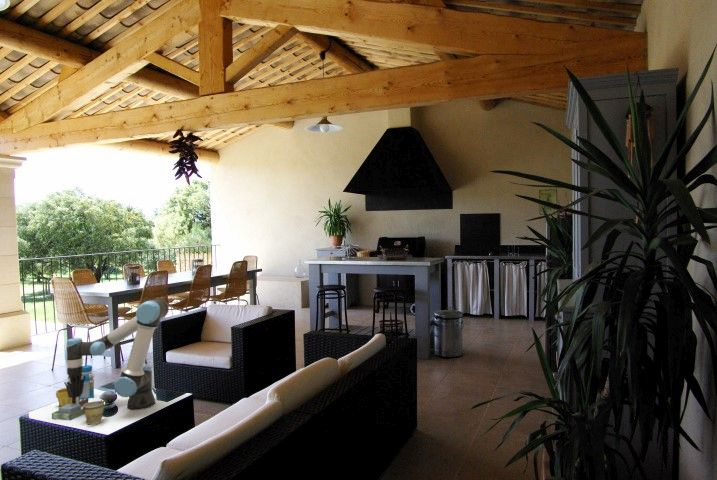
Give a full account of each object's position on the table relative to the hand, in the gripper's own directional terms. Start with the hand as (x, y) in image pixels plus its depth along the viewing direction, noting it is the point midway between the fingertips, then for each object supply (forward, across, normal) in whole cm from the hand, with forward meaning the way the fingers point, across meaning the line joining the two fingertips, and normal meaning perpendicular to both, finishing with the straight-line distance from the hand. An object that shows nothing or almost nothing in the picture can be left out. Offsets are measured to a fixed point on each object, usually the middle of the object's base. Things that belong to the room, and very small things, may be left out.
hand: (75, 408), depth 268 cm
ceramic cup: (+4, +7, +20) cm, 21 cm away
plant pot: (+4, -11, -17) cm, 21 cm away
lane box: (+4, -2, 0) cm, 4 cm away
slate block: (+2, +4, 0) cm, 5 cm away
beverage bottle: (+4, -25, -16) cm, 30 cm away
